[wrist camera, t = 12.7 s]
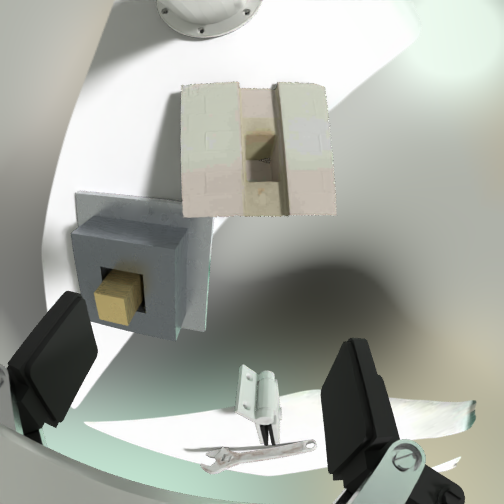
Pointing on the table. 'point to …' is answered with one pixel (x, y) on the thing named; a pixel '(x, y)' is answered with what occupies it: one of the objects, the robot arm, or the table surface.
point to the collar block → (145, 258)
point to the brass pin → (119, 296)
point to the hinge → (259, 403)
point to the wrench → (253, 455)
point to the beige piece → (256, 151)
